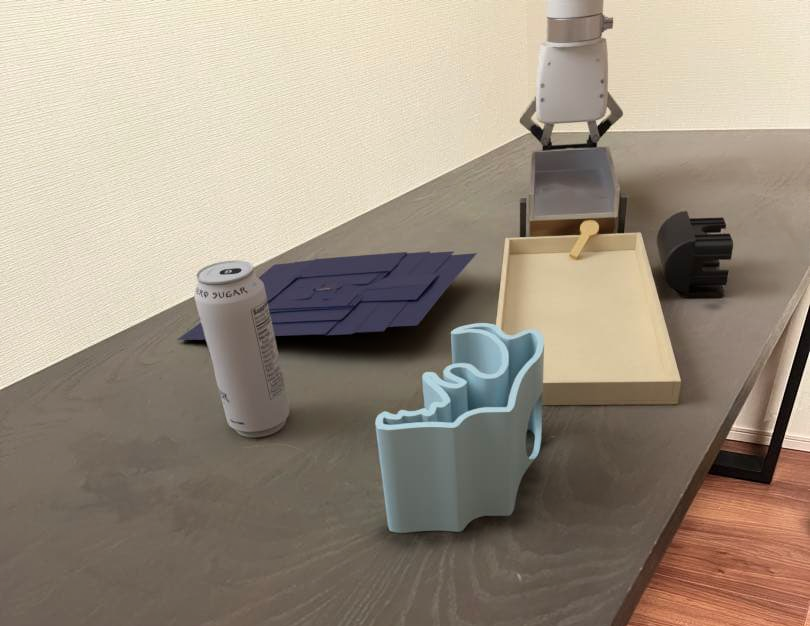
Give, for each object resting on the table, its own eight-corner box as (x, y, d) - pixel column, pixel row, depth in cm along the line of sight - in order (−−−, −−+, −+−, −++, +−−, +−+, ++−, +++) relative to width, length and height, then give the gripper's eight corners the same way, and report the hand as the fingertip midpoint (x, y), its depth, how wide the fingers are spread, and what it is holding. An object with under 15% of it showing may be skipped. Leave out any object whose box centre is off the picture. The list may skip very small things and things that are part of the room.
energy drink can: (236, 410, 79) (198, 260, 69) (295, 406, 78) (265, 255, 69) (223, 442, 74) (181, 287, 64) (286, 438, 73) (253, 281, 64)
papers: (415, 358, 81) (408, 324, 79) (183, 362, 93) (172, 333, 91) (484, 269, 98) (480, 240, 96) (281, 283, 110) (273, 257, 108)
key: (585, 219, 102) (585, 216, 101) (602, 225, 101) (602, 223, 101) (564, 254, 101) (564, 252, 100) (581, 261, 100) (581, 259, 100)
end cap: (653, 267, 97) (659, 210, 93) (713, 266, 96) (723, 208, 92) (659, 300, 90) (666, 240, 86) (724, 299, 89) (735, 238, 84)
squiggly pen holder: (507, 547, 59) (506, 441, 53) (382, 530, 62) (369, 428, 56) (548, 423, 72) (552, 326, 66) (444, 413, 75) (438, 320, 69)
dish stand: (613, 200, 119) (617, 157, 115) (623, 244, 104) (627, 197, 100) (522, 204, 121) (523, 162, 117) (519, 248, 106) (519, 202, 103)
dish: (605, 163, 120) (607, 139, 118) (617, 217, 100) (620, 189, 98) (531, 167, 122) (531, 143, 120) (528, 221, 102) (529, 193, 100)
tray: (639, 251, 102) (641, 232, 100) (677, 404, 72) (681, 381, 71) (505, 256, 105) (505, 237, 103) (489, 405, 75) (489, 383, 73)
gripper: (635, 21, 110) (624, 160, 122) (512, 31, 113) (512, 167, 124) (640, 29, 105) (628, 174, 116) (510, 39, 107) (511, 180, 119)
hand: (568, 169), depth 120 cm, fingers closed on dish, 5 cm apart
